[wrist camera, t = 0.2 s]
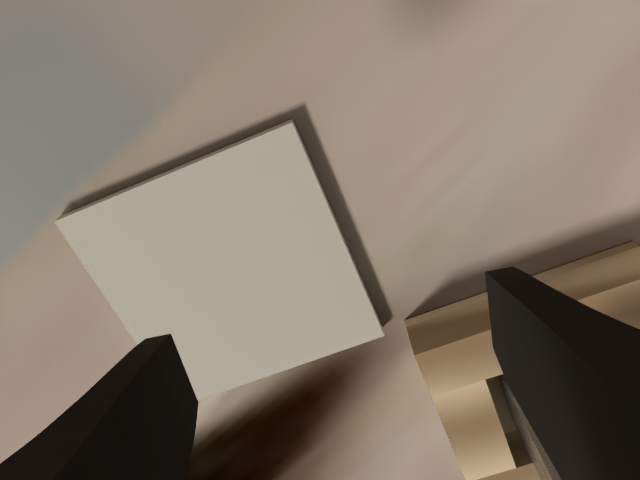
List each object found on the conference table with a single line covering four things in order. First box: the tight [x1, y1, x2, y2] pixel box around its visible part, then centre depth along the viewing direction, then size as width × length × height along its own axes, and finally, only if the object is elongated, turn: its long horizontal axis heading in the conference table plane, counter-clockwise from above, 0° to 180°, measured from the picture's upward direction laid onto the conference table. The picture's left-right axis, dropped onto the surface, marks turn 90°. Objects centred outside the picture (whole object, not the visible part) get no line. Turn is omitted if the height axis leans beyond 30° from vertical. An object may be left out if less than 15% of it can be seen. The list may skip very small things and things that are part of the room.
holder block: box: [404, 241, 640, 480], centre depth 24 cm, size 10×10×2 cm
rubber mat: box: [54, 119, 385, 400], centre depth 22 cm, size 10×10×1 cm
